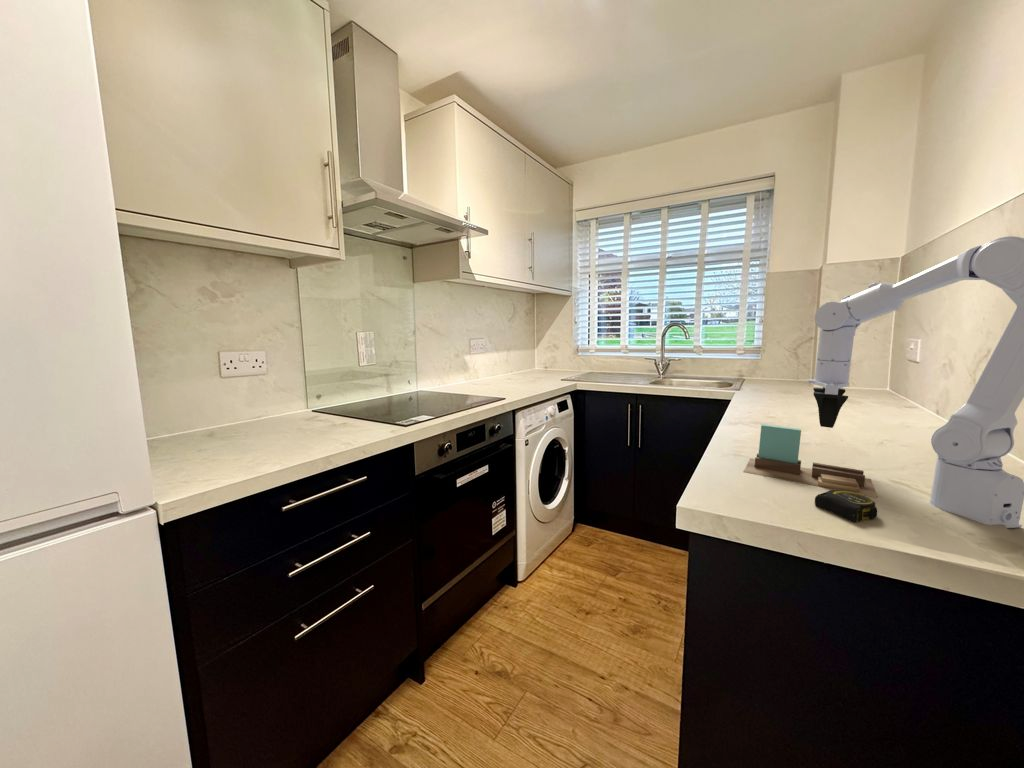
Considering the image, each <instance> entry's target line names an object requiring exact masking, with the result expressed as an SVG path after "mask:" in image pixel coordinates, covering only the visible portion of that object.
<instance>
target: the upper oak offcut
mask: <svg viewBox="0 0 1024 768" xmlns="http://www.w3.org/2000/svg"><path fill="white" fill-rule="evenodd" d="M820 478H821V481H822V482H825V483H831V484H837V485H844V486H850V487H856V488H857V486H858V483H857V481H856V480H855V479H851V478H845V477H838V476H832V475H825V474H821V476H820Z"/></svg>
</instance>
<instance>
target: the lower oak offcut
mask: <svg viewBox="0 0 1024 768" xmlns="http://www.w3.org/2000/svg"><path fill="white" fill-rule="evenodd" d="M818 485H819V486H824V487H830V488H835V489H840V490H846V491H851V492H856V493H859V485H858V486H857V488H856V487H850V486H844V485H837V484H831V483H825V482H822V481H821V478H820V477H818ZM819 486H818V487H819ZM824 487H823V488H824ZM835 489H834V490H835Z"/></svg>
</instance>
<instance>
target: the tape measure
mask: <svg viewBox="0 0 1024 768" xmlns="http://www.w3.org/2000/svg"><path fill="white" fill-rule="evenodd" d="M814 505H815V506H816V507H817V508H819V509H822V510H825V511H827V512H829V513H832V514H834V515H835V516H838V517H840V518H843V519H845V520H847V521H850V522H851V523H860V522H861V521H869V520H874V519H875V518H876V517H877V516H878V509H877V507H876V502H875V501H874V500H873V499H872V498H870V497H869V496H866V495H861V494H858V493H855V492H850V491H844V490H835V489H829V490H827V491H825V492H823V493H822V492H821V493H818V494H817V495H816V496H815V497H814Z"/></svg>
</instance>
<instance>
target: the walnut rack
mask: <svg viewBox="0 0 1024 768" xmlns="http://www.w3.org/2000/svg"><path fill="white" fill-rule="evenodd" d="M758 455H759V452H758V453H756V456H755V458H749V460H748V461H747V463H746V466H745V468H744V470H743V473H746V474H751V475H756V476H757V475H758V476H762V477H768V478H773V479H777V480H783V481H788V482H793V483H797V484H804V485H809V486H814V487H820V488H825V489H829V490H840V489H835V488H830V487H824V486H819V485H818V477H820V476H821V474H825V475H832V476H838V477H845V478H851V479H855V480H856V481H857V483H858V485H859V493H858V494H861V495H864V496H866V497H872V498H878V495H877V492H876V489H875V487H874V484H873V480H872V479H871V478H867V477H866V475H865V474H864V472H865V471H864V470H861V469H856V468H850V467H843V466H837V465H831V464H826V463H819V462H812V468H808V467H802V460H800V459H798V464H796V463H790V462H784V461H778V460H772V459H766V458H760V457H758ZM844 491H846V490H844ZM850 492H851V491H850ZM855 493H856V492H855Z"/></svg>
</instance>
